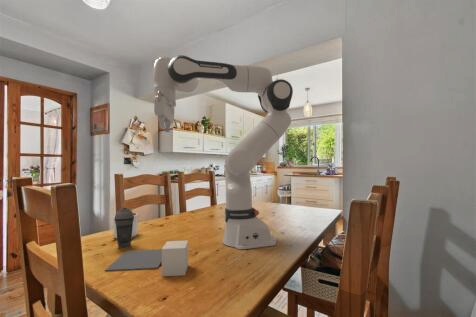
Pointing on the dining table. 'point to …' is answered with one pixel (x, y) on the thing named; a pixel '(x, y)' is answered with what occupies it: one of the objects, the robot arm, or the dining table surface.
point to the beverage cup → (124, 226)
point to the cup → (134, 228)
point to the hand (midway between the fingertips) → (164, 130)
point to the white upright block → (174, 258)
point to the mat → (137, 260)
